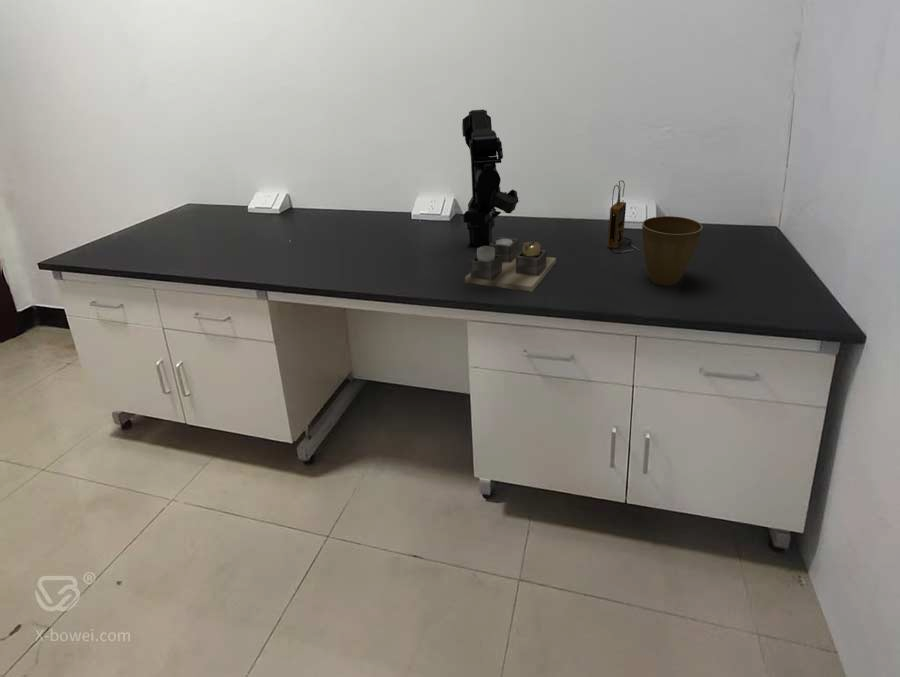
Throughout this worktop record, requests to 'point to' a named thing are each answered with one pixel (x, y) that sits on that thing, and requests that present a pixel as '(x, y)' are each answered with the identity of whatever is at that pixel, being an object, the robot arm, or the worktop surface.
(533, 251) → the brass dial
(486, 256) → the knob front
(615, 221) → the multimeter
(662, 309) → the worktop surface
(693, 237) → the plant pot
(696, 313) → the worktop surface
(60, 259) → the worktop surface
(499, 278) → the mount
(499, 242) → the knob back
